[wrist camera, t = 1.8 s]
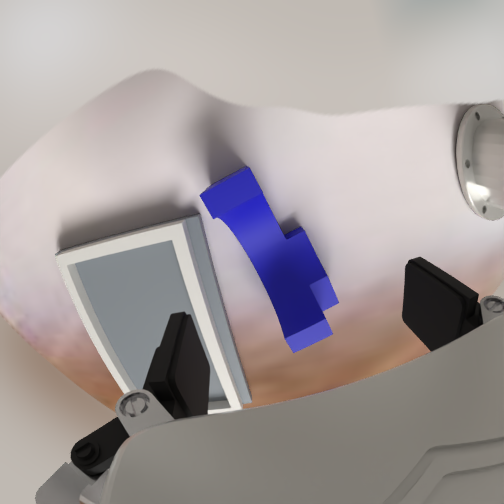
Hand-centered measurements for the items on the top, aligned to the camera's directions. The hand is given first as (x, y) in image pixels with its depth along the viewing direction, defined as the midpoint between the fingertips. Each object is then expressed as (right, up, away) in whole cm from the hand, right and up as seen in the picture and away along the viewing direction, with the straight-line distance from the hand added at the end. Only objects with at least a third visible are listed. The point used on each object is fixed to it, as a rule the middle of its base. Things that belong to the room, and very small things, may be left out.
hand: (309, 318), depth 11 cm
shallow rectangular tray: (-11, -5, +13) cm, 18 cm away
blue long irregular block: (-1, +4, +11) cm, 12 cm away
